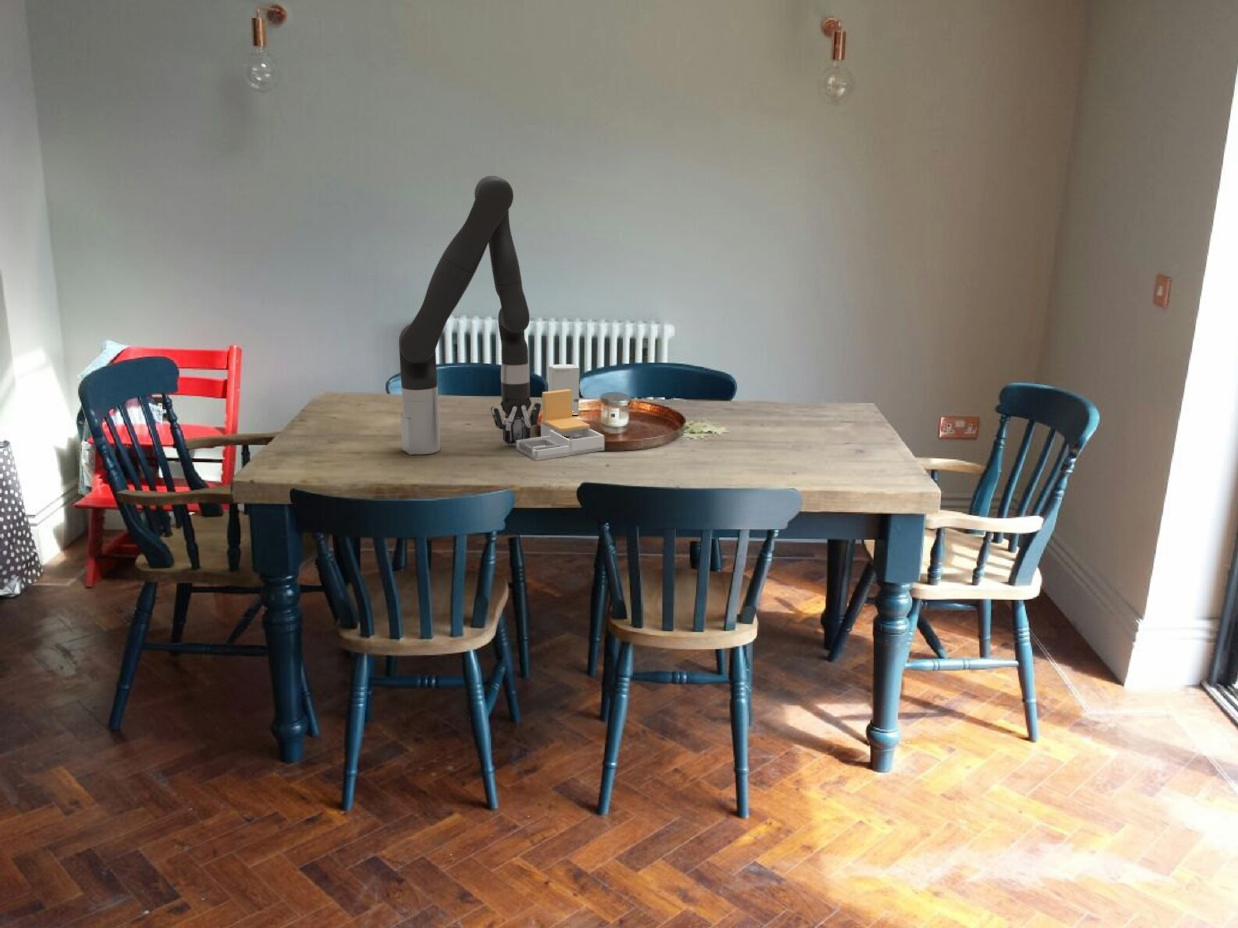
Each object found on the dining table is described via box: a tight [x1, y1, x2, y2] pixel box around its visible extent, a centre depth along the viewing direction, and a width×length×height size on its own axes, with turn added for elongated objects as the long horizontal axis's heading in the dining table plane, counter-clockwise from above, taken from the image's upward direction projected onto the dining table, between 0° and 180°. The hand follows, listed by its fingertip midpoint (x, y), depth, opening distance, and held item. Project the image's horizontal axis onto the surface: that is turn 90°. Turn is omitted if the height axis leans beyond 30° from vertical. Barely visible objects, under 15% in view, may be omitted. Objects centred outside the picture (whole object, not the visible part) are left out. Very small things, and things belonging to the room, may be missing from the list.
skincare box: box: [547, 363, 580, 414], centre depth 334 cm, size 8×6×15 cm
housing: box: [515, 422, 605, 461], centre depth 302 cm, size 20×20×4 cm
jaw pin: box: [508, 417, 524, 448], centre depth 303 cm, size 4×4×8 cm
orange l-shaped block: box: [540, 389, 591, 432], centre depth 306 cm, size 9×12×8 cm
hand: (516, 441), depth 304 cm, fingers open, 4 cm apart
